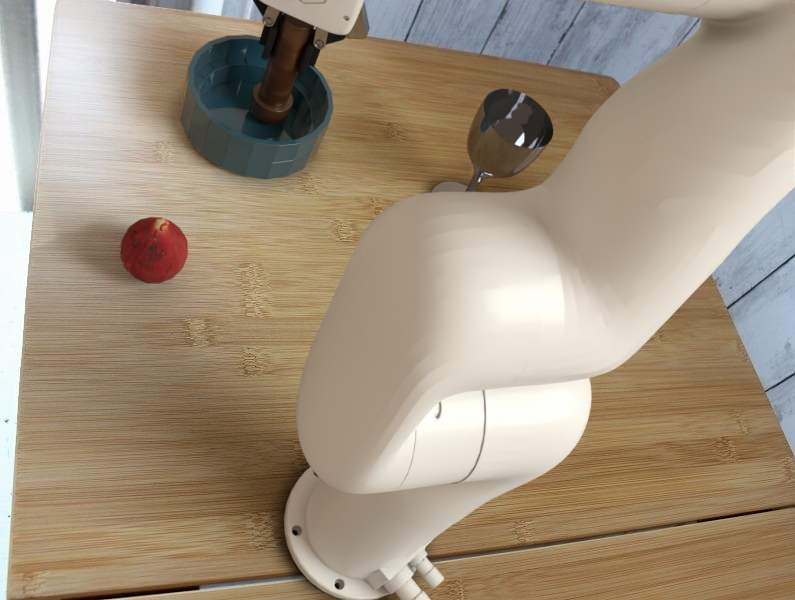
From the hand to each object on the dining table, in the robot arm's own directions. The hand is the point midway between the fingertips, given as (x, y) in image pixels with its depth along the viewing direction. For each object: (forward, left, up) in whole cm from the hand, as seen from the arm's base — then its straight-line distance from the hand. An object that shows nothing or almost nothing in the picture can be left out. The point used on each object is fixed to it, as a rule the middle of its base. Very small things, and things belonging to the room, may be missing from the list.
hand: (286, 57), depth 85 cm
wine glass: (-20, -13, -10) cm, 26 cm away
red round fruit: (-10, +22, -10) cm, 26 cm away
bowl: (0, +2, -9) cm, 10 cm away
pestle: (0, 0, -8) cm, 8 cm away
